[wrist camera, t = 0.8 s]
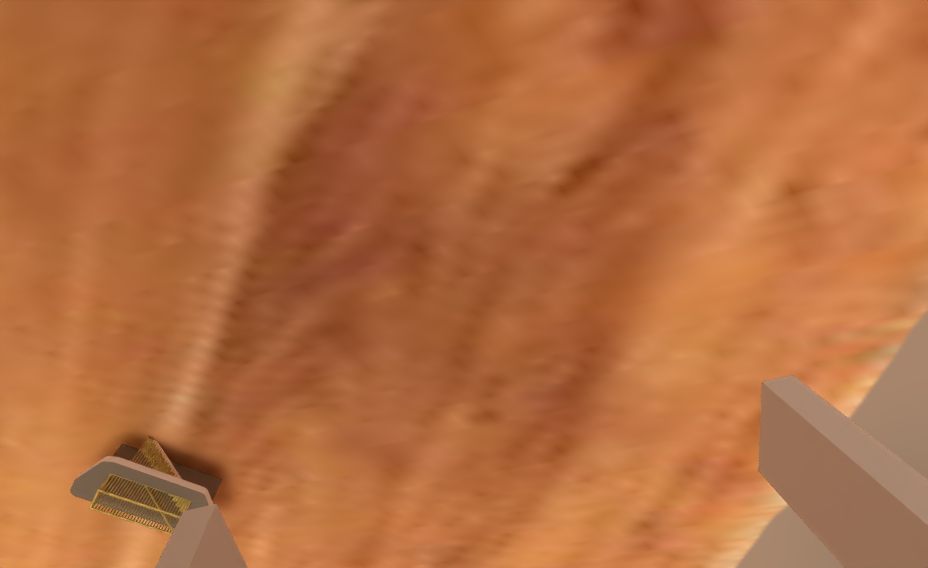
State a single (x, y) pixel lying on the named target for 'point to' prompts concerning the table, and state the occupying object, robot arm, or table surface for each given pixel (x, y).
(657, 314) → the table surface
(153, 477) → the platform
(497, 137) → the table surface
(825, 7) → the table surface
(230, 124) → the table surface
